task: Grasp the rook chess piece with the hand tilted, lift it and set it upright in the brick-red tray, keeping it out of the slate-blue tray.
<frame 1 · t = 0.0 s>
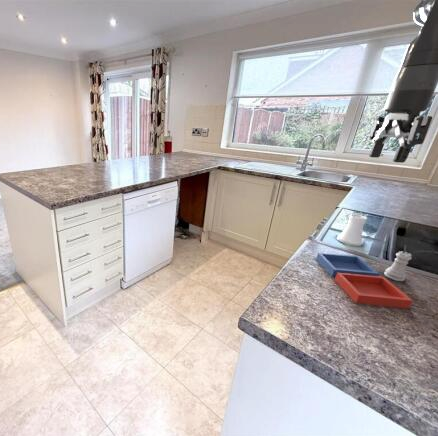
hand: (385, 159, 64), 32 cm above the worktop, tool pointing down, fingers open, 8 cm apart
vase: (349, 241, 92), on the worktop
red tray: (368, 293, 64), on the worktop
rook chess piece: (393, 278, 71), on the worktop
blue tray: (344, 269, 74), on the worktop
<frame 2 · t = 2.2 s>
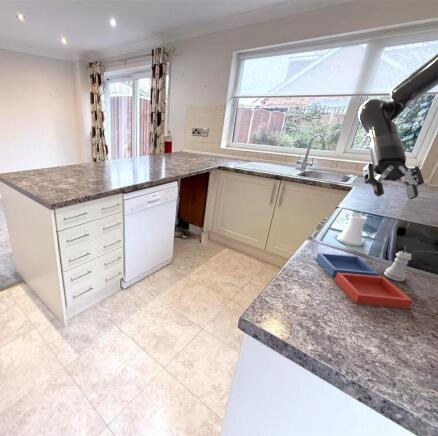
hand: (396, 196, 73), 21 cm above the worktop, tool tilted 45°, fingers open, 8 cm apart
nothing on the worktop moved.
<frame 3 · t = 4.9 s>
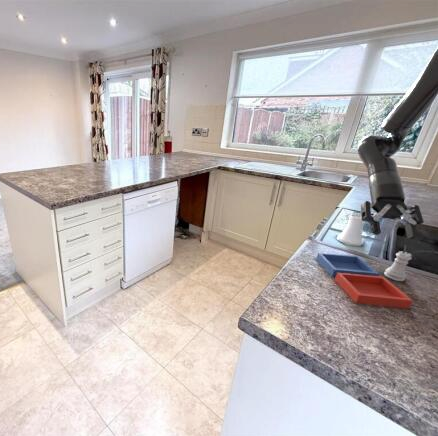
hand: (394, 236, 72), 10 cm above the worktop, tool tilted 45°, fingers open, 8 cm apart
nothing on the worktop moved.
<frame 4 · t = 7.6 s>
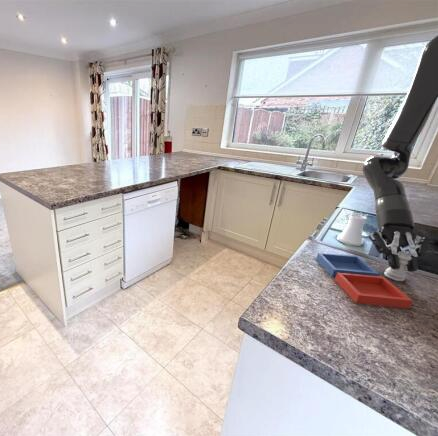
hand: (404, 269, 67), 4 cm above the worktop, tool tilted 45°, fingers closed on rook chess piece, 3 cm apart
rook chess piece: (393, 278, 71), on the worktop, touching gripper
everything else where it was.
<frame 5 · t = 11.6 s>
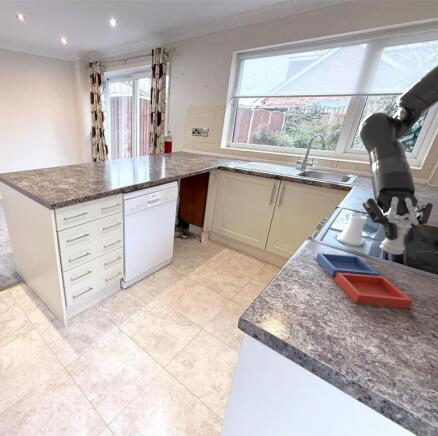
hand: (402, 240, 58), 16 cm above the worktop, tool tilted 45°, fingers closed on rook chess piece, 3 cm apart
rook chess piece: (390, 251, 61), point 12 cm above the worktop, touching gripper
everything else where it was.
when the fingers open (4 cm above the worktop, at t = 15.4 s): rook chess piece stays where it is, resting on red tray.
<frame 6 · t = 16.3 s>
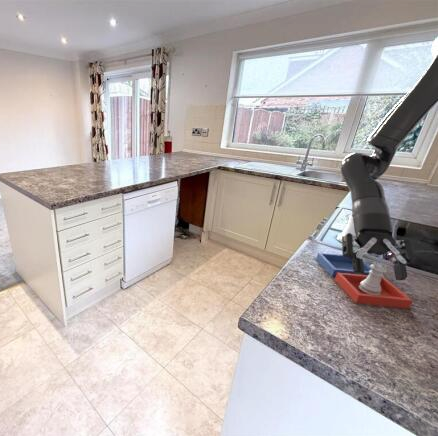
hand: (380, 277, 61), 6 cm above the worktop, tool tilted 45°, fingers open, 8 cm apart
rook chess piece: (368, 291, 64), resting on red tray
everything else where it was.
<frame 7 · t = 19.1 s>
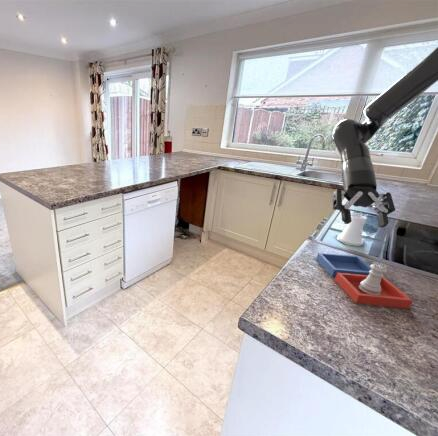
hand: (365, 224, 69), 15 cm above the worktop, tool tilted 45°, fingers open, 8 cm apart
nothing on the worktop moved.
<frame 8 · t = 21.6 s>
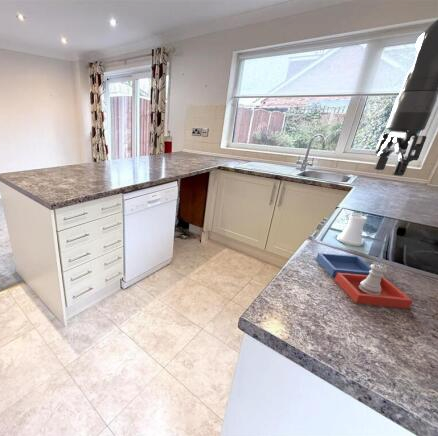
hand: (387, 172, 71), 28 cm above the worktop, tool pointing down, fingers open, 8 cm apart
nothing on the worktop moved.
at the end: rook chess piece inside the target area in the red tray (0.2 cm from its centre), point 0.3 cm above the red tray's base; rook chess piece tilted 0°; the gripper is holding nothing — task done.
